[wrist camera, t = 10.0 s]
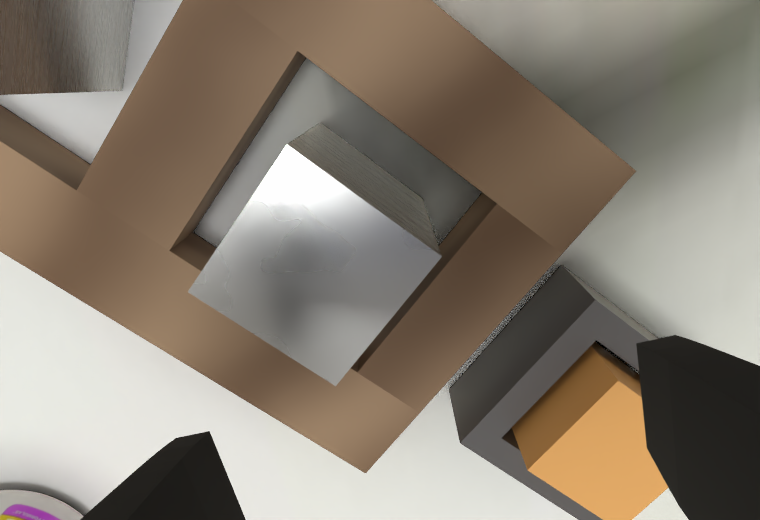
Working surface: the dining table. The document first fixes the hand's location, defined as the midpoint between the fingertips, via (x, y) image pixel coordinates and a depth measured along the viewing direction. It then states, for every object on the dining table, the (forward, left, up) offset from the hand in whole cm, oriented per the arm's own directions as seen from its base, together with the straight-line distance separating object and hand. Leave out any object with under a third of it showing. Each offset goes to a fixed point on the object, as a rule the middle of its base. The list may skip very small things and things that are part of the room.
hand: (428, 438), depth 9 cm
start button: (-7, 0, -8) cm, 11 cm away
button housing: (-7, 0, -9) cm, 12 cm away
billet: (+3, 0, -9) cm, 10 cm away
